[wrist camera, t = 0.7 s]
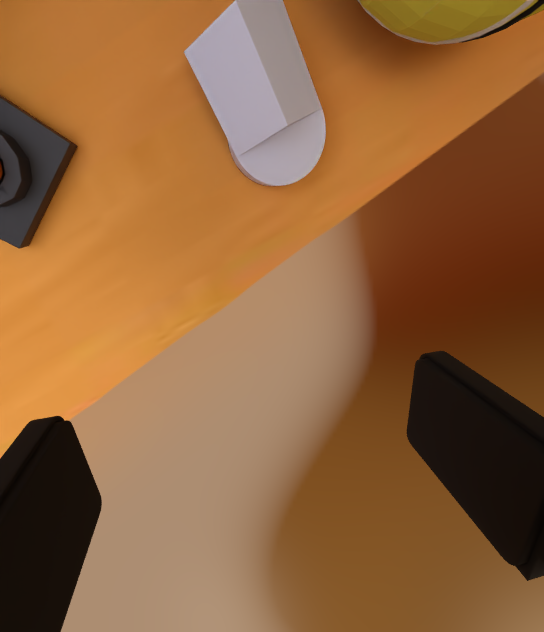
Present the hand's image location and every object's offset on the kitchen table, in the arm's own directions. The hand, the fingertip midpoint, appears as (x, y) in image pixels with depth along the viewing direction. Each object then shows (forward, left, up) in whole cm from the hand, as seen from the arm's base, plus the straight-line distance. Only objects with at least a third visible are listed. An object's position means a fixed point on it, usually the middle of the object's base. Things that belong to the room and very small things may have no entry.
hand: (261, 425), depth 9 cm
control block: (+5, -20, -29) cm, 35 cm away
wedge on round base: (-13, -3, -29) cm, 32 cm away
